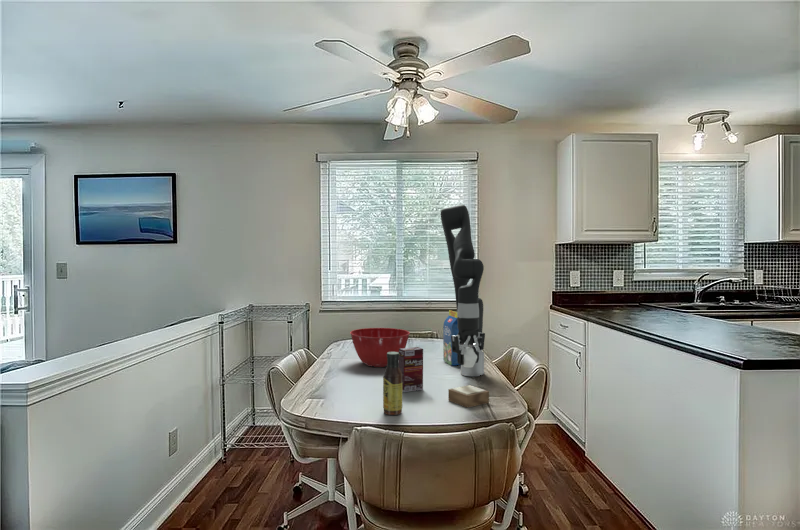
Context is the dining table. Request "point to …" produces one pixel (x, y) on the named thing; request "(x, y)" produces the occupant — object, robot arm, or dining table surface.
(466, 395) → the base
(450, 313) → the blue food package
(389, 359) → the sauce bottle
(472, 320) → the robot arm
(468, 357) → the white fluted ornament
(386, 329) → the mixing bowl
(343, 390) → the dining table surface
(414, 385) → the supplement box
